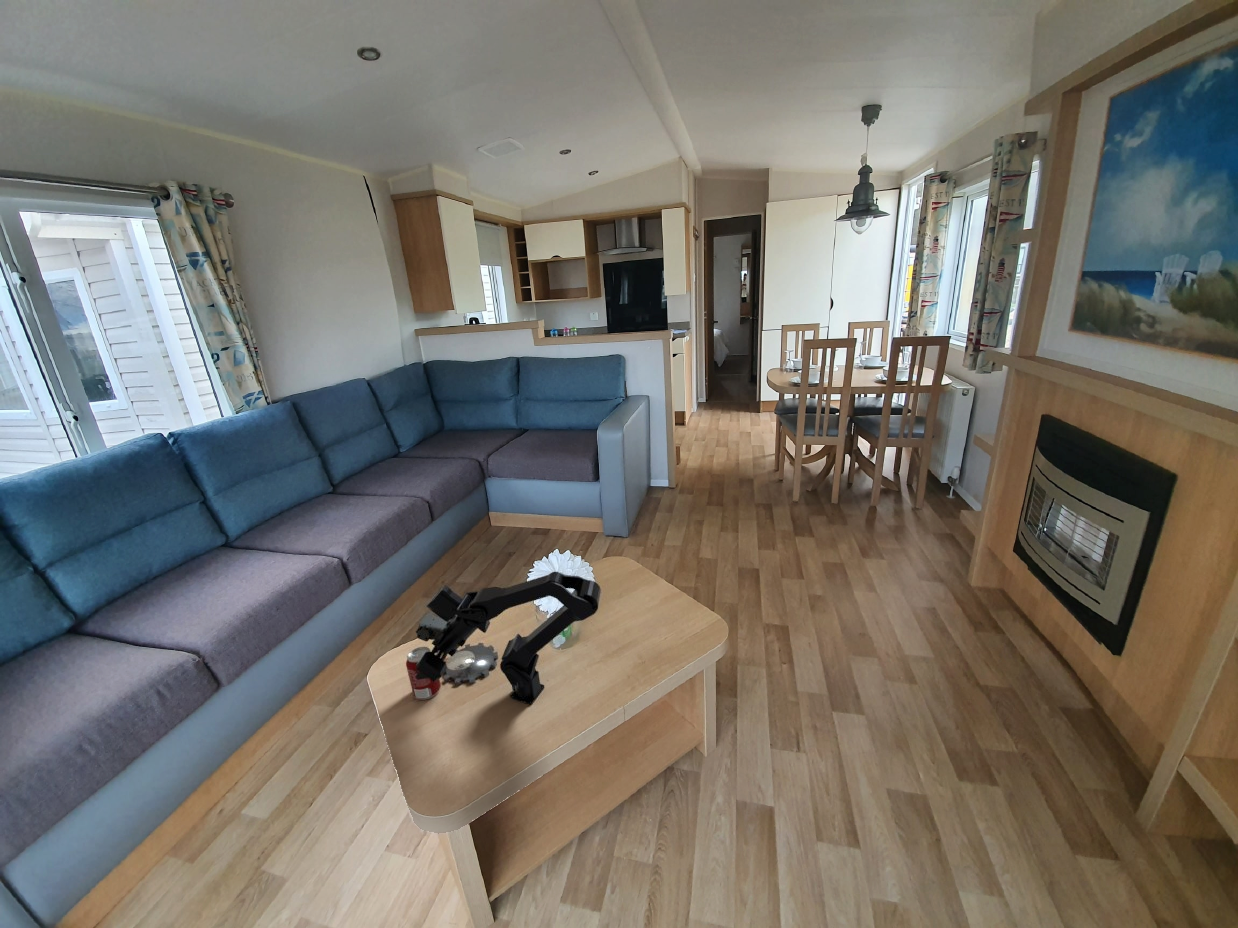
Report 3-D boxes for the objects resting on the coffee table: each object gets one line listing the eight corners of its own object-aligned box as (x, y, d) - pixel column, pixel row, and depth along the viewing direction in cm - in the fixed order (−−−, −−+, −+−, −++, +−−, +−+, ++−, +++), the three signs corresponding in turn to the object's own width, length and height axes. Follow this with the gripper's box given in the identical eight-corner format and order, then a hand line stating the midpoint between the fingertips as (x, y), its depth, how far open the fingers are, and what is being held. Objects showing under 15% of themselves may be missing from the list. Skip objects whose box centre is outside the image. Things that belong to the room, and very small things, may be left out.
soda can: (432, 703, 124) (423, 664, 120) (408, 700, 125) (398, 661, 121) (446, 683, 130) (438, 646, 126) (423, 680, 131) (414, 643, 127)
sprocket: (508, 653, 140) (508, 649, 139) (474, 691, 127) (473, 687, 126) (467, 641, 146) (466, 637, 145) (429, 676, 133) (429, 672, 132)
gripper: (449, 587, 128) (416, 622, 132) (416, 634, 110) (379, 673, 114) (483, 612, 129) (449, 647, 134) (456, 663, 112) (418, 700, 116)
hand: (425, 664), depth 125 cm, fingers open, 9 cm apart
